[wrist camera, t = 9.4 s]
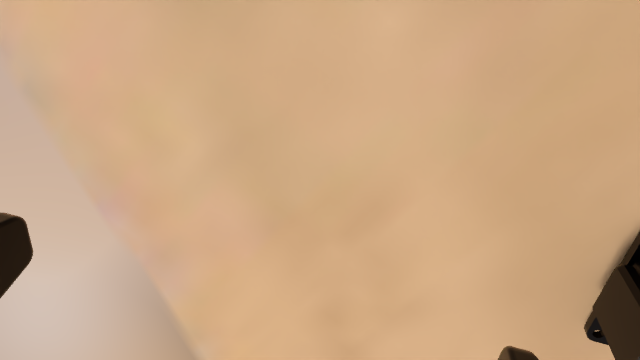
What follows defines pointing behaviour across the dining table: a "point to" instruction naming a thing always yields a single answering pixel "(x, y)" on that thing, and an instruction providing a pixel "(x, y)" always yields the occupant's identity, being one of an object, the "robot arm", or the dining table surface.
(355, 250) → the dining table surface
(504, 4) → the dining table surface
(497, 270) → the dining table surface
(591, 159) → the dining table surface
